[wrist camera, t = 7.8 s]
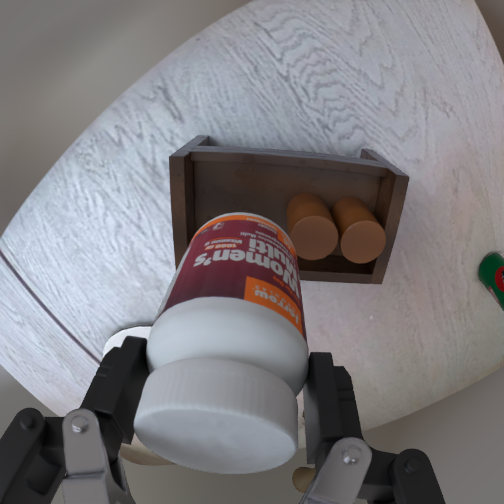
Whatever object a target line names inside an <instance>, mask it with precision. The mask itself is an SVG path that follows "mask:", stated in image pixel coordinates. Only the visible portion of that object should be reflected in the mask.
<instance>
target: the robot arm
mask: <svg viewBox="0 0 504 504" xmlns="http://www.w3.org/2000/svg"><path fill="white" fill-rule="evenodd" d="M147 342H148V341H147V339H146V338H142V337H136V336H129V335H128V336H126V337H125V339H124V341H123V343H122V345H121V347H115V346H114V347H113V348H112V349H111V350H110V351H109V352H107V353H106V354H105V356H104V358H103V360H102V362H101V364H100V367H99V368H98V370H97V372H96V376H94V378H93V380H92V383H91V385H90V387H89V389H88V391H87V393H86V396H85V398H84V400H83V402H82V404H81V406H80V408H79V409H75V410H72V411H71V412H69V413H68V414H67V415H66V416H65V417H44V416H43V415H42V414H41V413H40V412H39V411H38V410H37V409H34V408H25V409H23V410H21V411H20V412H18V413H17V415H16V416H15V418H14V419H13V421H12V422H11V424H10V426H9V427H8V428H7V430H6V431H5V433H4V435H3V436H2V438H1V439H0V504H51V501H52V499H53V497H54V495H55V493H56V491H57V489H58V487H59V485H60V484H61V482H62V491H63V497H64V502H65V504H136V503H135V501H134V500H133V498H132V496H131V493H130V490H129V486H128V483H127V479H126V475H125V471H124V467H123V463H122V459H121V454H120V451H119V450H120V447H121V443H125V444H129V445H131V442H132V439H133V436H134V432H135V431H134V419H135V415H136V412H137V409H138V405H139V402H140V399H141V397H142V391H143V388H144V385H145V383H146V380H147V378H148V377H149V375H150V372H149V369H148V366H147V361H146V347H147ZM303 399H304V414H305V431H306V451H307V464H315V473H316V474H315V475H314V477H313V479H312V481H311V482H310V484H309V486H308V488H307V490H306V492H305V493H304V495H303V497H302V499H301V501H300V502H299V504H354V502H355V499H356V498H360V499H366V500H367V502H368V504H446V503H445V501H444V498H443V495H442V492H441V489H440V487H439V484H438V481H437V479H436V476H435V473H434V471H433V468H432V465H431V463H430V460H429V458H428V457H427V455H426V454H425V453H424V452H422V451H420V450H417V449H406V450H404V451H402V452H401V453H400V454H393V453H388V452H382V451H378V450H375V449H373V448H372V447H370V446H369V445H368V444H367V443H366V442H365V440H364V439H363V436H362V433H361V427H360V421H359V416H358V410H357V405H356V400H355V395H354V391H353V385H352V380H351V376H350V375H349V373H348V372H347V371H346V369H345V368H344V366H334V365H333V359H332V355H331V353H330V352H311V353H310V356H309V370H308V376H307V380H306V382H305V384H304V386H303ZM66 472H67V474H66ZM65 474H66V476H65Z"/></svg>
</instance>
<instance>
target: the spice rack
mask: <svg viewBox="0 0 504 504" xmlns="http://www.w3.org/2000/svg"><path fill="white" fill-rule="evenodd" d="M169 170H170V194H171V212H172V227H173V241H174V253H175V265H176V271H177V269H178V267H179V264H180V262H181V260H182V258H183V256H184V254H185V252H186V250H187V248H188V246H189V244H190V242H191V240H192V238H193V237H194V235H195V234H196V232H197V231H198V230H199V229H200V228H201V227H202V226H203V225H204V224H206V223H207V222H208V221H210V220H212V219H214V218H216V217H218V216H221V215H223V214H228V213H235V212H243V213H252V214H256V215H260V216H262V217H265V218H267V219H269V220H271V221H272V222H274V223H275V224H277V225H278V226H279V227H280V228H281V229H282V230H283V231H284V232H285V233H286V234H287V235H288V237H289V238H290V240H291V242H292V244H293V246H294V249H295V252H296V256H297V263H298V270H299V278H300V280H306V281H324V282H342V283H362V284H382V281H383V278H384V275H385V272H386V268H387V265H388V262H389V258H390V255H391V251H392V248H393V244H394V240H395V237H396V233H397V229H398V225H399V221H400V217H401V213H402V209H403V205H404V200H405V196H406V191H407V187H408V182H409V176H408V175H406V174H405V173H404V172H402V171H401V170H399V169H398V168H397V167H395V166H394V165H393V164H391V163H390V162H388V161H387V160H386V159H384V158H383V157H381V156H380V155H378V154H377V153H375V152H374V151H373V150H369V149H362V150H361V157H360V158H353V157H345V156H337V155H329V154H320V153H311V152H300V151H289V150H277V149H262V148H245V147H221V146H209V136H197V137H195V138H194V139H192V140H191V141H190V142H188V143H187V144H185V145H184V146H183V147H181V148H180V149H179V150H177V151H176V152H175V153H173V154H172V155H171V156H169Z"/></svg>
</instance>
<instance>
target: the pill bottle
mask: <svg viewBox="0 0 504 504" xmlns="http://www.w3.org/2000/svg"><path fill="white" fill-rule="evenodd" d="M146 361H147V366H148V369H149V372H150V375H149V377H148V378H147V380H146V383H145V385H144V388H143V391H142V397H141V399H140V402H139V405H138V409H137V412H136V415H135V419H134V431H135V433H136V435H137V437H138V439H139V440H140V441H141V442H142V443H143V444H144V445H145V446H146V447H147V448H148V449H150V450H151V451H152V452H154V453H156V454H157V455H159V456H161V457H162V458H165V459H167V460H169V461H171V462H173V463H176V464H179V465H182V466H185V467H189V468H192V469H196V470H201V471H206V472H213V473H224V474H244V473H253V472H260V471H265V470H269V469H273V468H275V467H277V466H280V465H282V464H284V463H286V462H287V461H289V460H290V459H291V458H292V457H293V456H294V455H295V453H296V450H297V448H298V422H297V418H298V405H297V399H296V396H297V395H298V394H299V393H300V391H301V390H302V388H303V386H304V384H305V382H306V380H307V376H308V370H309V358H308V345H307V337H306V328H305V321H304V312H303V304H302V295H301V286H300V278H299V270H298V263H297V256H296V252H295V249H294V246H293V244H292V242H291V240H290V238H289V237H288V235H287V234H286V233H285V232H284V231H283V230H282V229H281V228H280V227H279V226H278V225H277V224H275V223H274V222H272V221H271V220H269V219H267V218H265V217H262V216H260V215H256V214H252V213H243V212H235V213H228V214H223V215H221V216H218V217H216V218H214V219H212V220H210V221H208V222H207V223H206V224H204V225H203V226H202V227H201V228H200V229H199V230H198V231H197V232H196V234H195V235H194V237H193V238H192V240H191V242H190V244H189V246H188V248H187V250H186V252H185V254H184V256H183V258H182V260H181V262H180V264H179V267H178V269H177V271H176V273H175V275H174V277H173V279H172V281H171V283H170V286H169V288H168V290H167V292H166V294H165V297H164V299H163V301H162V304H161V306H160V309H159V311H158V314H157V316H156V319H155V321H154V324H153V326H152V328H151V332H150V335H149V339H148V342H147V347H146Z"/></svg>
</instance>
